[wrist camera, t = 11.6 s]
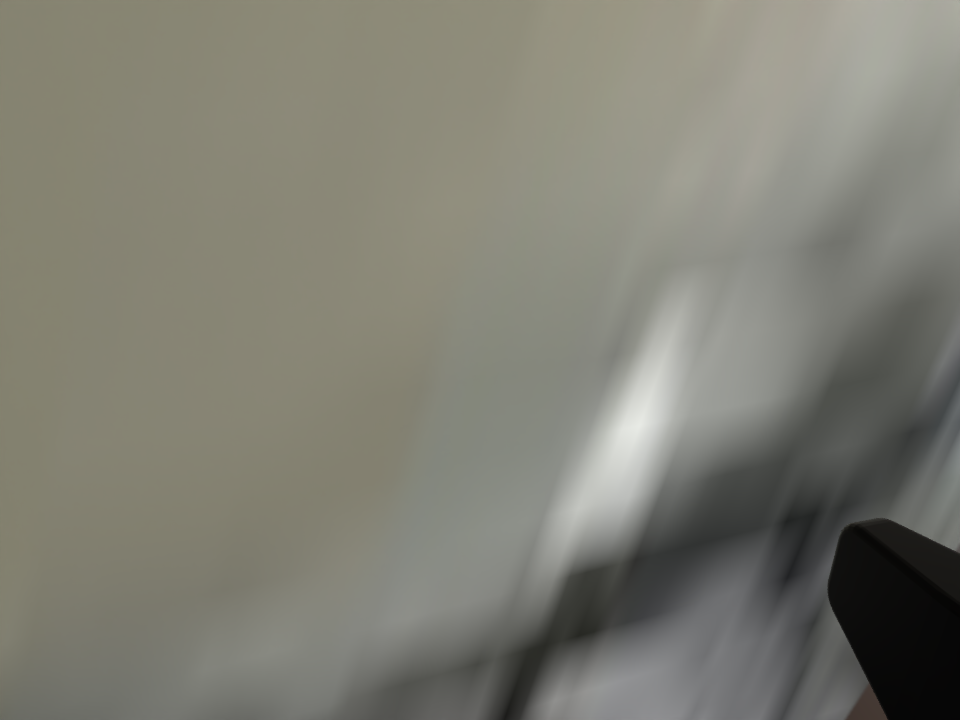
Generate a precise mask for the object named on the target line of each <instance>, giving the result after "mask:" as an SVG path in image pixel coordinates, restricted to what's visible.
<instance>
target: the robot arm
mask: <svg viewBox="0 0 960 720" xmlns="http://www.w3.org/2000/svg"><path fill="white" fill-rule="evenodd" d="M828 597H829V601H830V605H831V607H832V610H833V612H834V614H835V616H836V618H837V620H838V622H839V624H840V626H841V628H842V630H843V632H844V634H845V636H846V638H847V640H848V642H849V643H850V645H851V647H852V649H853V651H854V653H855V655H856V657H857V659H858V661H859V663H860V665H861V667H862V669H863V671H864V673H865V675H866V677H867V679H868V681H869V683H870V685H871V687H872V689H873V691H874V693H875V695H876V697H877V699H878V701H879V703H880V705H881V707H882V709H883V711H884V713H885V714H886V716H887V719H888V720H960V553H958V552H956V551H954V550H952V549H950V548H947V547H945V546H943V545H941V544H939V543H937V542H935V541H933V540H931V539H929V538H927V537H925V536H923V535H921V534H919V533H916V532H914V531H912V530H910V529H908V528H906V527H904V526H902V525H900V524H898V523H896V522H894V521H891V520H889V519H885V518H876V519H871V520H865V521H860V522H855V523H850V524H848V525H846V526H845V527H844V529H843V530H842V531H841V533H840V536H839V539H838V543H837V547H836V551H835V555H834V559H833V563H832V567H831V571H830V575H829V579H828Z"/></svg>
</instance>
